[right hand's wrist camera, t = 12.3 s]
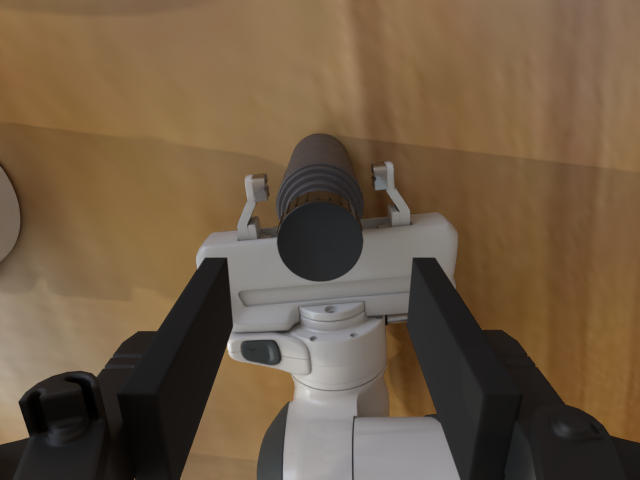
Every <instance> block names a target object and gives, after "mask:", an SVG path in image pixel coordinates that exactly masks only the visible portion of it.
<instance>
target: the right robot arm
mask: <svg viewBox="0 0 640 480" xmlns="http://www.w3.org/2000/svg"><path fill="white" fill-rule="evenodd" d="M232 329H233V317H232V306H231V294H230V283H229V271H228V260H227V257H205V258H204V260H203V261H202V263H201V264H200V266H199V267H198V269H197V270H196V272H195V274H194V275H193V277H192V278H191V280H190V281H189V283H188V284H187V286H186V288H185V289H184V291H183V292H182V294H181V295H180V297H179V298H178V300H177V301H176V303H175V305H174V306H173V308H172V309H171V311H170V312H169V314H168V315H167V317H166V318H165V320H164V322H163V323H162V325H161V326H160V328H159V329H158V331H138V332H137V333H135V334H134V335H133V336H131V337H130V338H128V339H127V340H125V341H124V342H123V343H122V344H121V345H120V347H119V348H118V349H117V351H116V352H115V353H114V355H113V358H111V359H110V360H109V361H108V363H107V364H106V365H105V369H102V371H101V372H100V373H99V375H98V376H97V377H95V376H94V375H93V374H92V373H88V372H84V371H74V372H65V373H62V374H58V375H55V376H52V377H50V378H48V379H46V380H43V381H41V382H39V383H37V384H36V385H35V386H33V387H32V388H31V389H29V390H28V391H27V392H26V393H25V394H24V395H23V397H22V398H21V399H20V401H19V405H20V408H21V411H22V415H23V418H24V421H25V424H26V427H27V430H28V433H29V436H30V437H29V438H26V439H23V440H19V441H14V442H10V443H6V444H2V445H0V480H134V478H135V480H180V477H181V474H182V472H183V469H184V466H185V463H186V460H187V457H188V454H189V452H190V449H191V446H192V443H193V440H194V437H195V434H196V432H197V429H198V426H199V423H200V420H201V417H202V415H203V412H204V409H205V406H206V403H207V400H208V397H209V395H210V392H211V389H212V386H213V383H214V380H215V377H216V375H217V372H218V369H219V366H220V363H221V360H222V357H223V355H224V352H225V349H226V346H227V343H228V340H229V337H230V335H231V332H232ZM407 329H408V332H409V335H410V338H411V340H412V343H413V346H414V349H415V352H416V355H417V357H418V360H419V363H420V366H421V369H422V372H423V375H424V377H425V380H426V383H427V386H428V389H429V392H430V395H431V397H432V400H433V403H434V406H435V409H436V412H437V415H438V417H439V420H440V423H441V426H442V429H443V432H444V434H445V437H446V440H447V443H448V446H449V449H450V452H451V454H452V457H453V460H454V463H455V466H456V469H457V472H458V474H459V477H460V480H505V476H506V478H507V480H640V443H637V442H633V441H629V440H625V439H620V438H617V437H614V436H610V435H609V433H608V432H607V430H606V429H605V427H604V426H603V425H602V424H601V423H600V422H599V421H597V420H596V419H595V418H594V417H593V416H591V415H589V414H587V413H586V412H584V411H582V410H580V409H578V408H575V407H572V406H568V405H565V403H564V402H563V401H562V399H561V398H560V397H559V395H558V394H557V393H556V391H555V390H554V389H553V387H552V386H551V385H550V383H549V382H548V381H547V380H546V378H545V377H544V376H543V374H542V373H541V372H540V370H539V369H538V368H537V367H535V364H534V362H533V361H532V360H531V358H530V357H528V356H527V353H526V352H525V350H524V349H523V348H522V346H521V345H520V344H519V342H518V341H517V340H515V339H514V338H512V337H511V336H509V335H508V334H507V333H505V332H504V331H502V330H482V329H481V328H480V326H479V325H478V323H477V322H476V320H475V318H474V317H473V315H472V314H471V312H470V311H469V309H468V308H467V306H466V305H465V303H464V301H463V300H462V298H461V297H460V295H459V294H458V292H457V291H456V289H455V288H454V286H453V284H452V283H451V281H450V280H449V278H448V277H447V275H446V274H445V272H444V270H443V269H442V267H441V266H440V264H439V263H438V261H437V260H436V258H435V257H413V260H412V271H411V283H410V294H409V306H408V317H407Z"/></svg>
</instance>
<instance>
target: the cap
mask: <svg viewBox="0 0 640 480" xmlns="http://www.w3.org/2000/svg"><path fill="white" fill-rule="evenodd" d="M362 231H363V229H362V225H361V222H360V220H359V218H358V214H357V211H356V210H354V208H353V207H352V205H351V204H350V202H348V201H347V200H346V199H344V198H343V197H342V196H341V195H338V194H335V193H333V192H331V191H319V190H318V191H311V192H306V193H305V194H302V195H300V196H299V197H298V196H297V197H296V199H294V200H293V201H292V202H291V203H290V204H288V206H287V208H286V210H285V212H283V213H282V216H281V219H280V223H279V226H278V230H277V249H278V253H279V256H280V258H281V260H282V262H283V263H284V264H285V266H286V267H287V268H288V269H289V270H290V271H291V272H292V273H294V274H295V275H297V276H299V277H301V278H303V279H306V280H309V281H315V282H325V281H331V280H334V279H337V278H339V277H341V276H343V275H345V274H346V273H348V272H349V271H350V270H351V269H352V268H353V267H354V266H355V265H356V263H357V261H358V260H359V258H360V256H361V253H362V249H363V242H364V240H363V234H362Z"/></svg>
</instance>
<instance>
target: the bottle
mask: <svg viewBox="0 0 640 480" xmlns="http://www.w3.org/2000/svg"><path fill="white" fill-rule="evenodd" d="M318 190H319V191H331V192H333V193H335V194H338V195H341V196H342V197H343V198H344V199H346V200H347V201H348V202H350V204H351V205H352V207H353V208H354V210H356V211H357V214H358V218H359V220H360V221H361V218H362V215H363V209H364V201H363V195H362V192H361V189H360V186H359V183H358V181H357V178H356V175H355V173H354V170H353V167H352V165H351V162H350V159H349V156H348V154H347V151H346V149H345V147H344V146H343V145H342V143H341V142H340V141H339V140H337V139H336V138H334V137H332V136H330V135H327V134H313V135H310V136H308V137H306V138H304V139H303V140H301V141H300V142H299V143H298V144H297V146H296V147H295V149H294V151H293V154H292V157H291V159H290V162H289V165H288V167H287V170H286V173H285V176H284V178H283V181H282V184H281V186H280V189H279V192H278V195H277V201H276V209H277V215H278V218H279V221H280V219H281V216H282V213H283V212H285V210H286V208H287V206H288V204H290V203H291V202H292V201H293V200H294V199H296V197H297V196H298V197H299V196H300V195H302V194H305V193H306V192H311V191H318Z"/></svg>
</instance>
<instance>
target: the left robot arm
mask: <svg viewBox="0 0 640 480" xmlns="http://www.w3.org/2000/svg"><path fill="white" fill-rule="evenodd" d="M371 171H372V173H373V175H372V185H373V187H374V190H386V191H387V193H388V194H389V196H390V197H391V199H392V200H393V202H394V203H395V205H394V204H389V205H388V217H377V218H366V219H361V221H360V222H361V225H362V229H363V231H362V234H363V240H364V242H363V249H362V253H361V256H360V258H359V260H358V261H357V263H356V265H355V266H354V267H353V268H352V269H351V270H350V271H349V272H348V273H346V274H345V275H343V276H341V277H339V278H337V279H334V280H331V281H325V282H315V281H309V280H306V279H303V278H301V277H299V276H297V275H295V274H294V273H292V272H291V271H290V270H289V269H288V268H287V267H286V266H285V264H284V263H283V262H282V260H281V258H280V256H279V253H278V249H277V230H278V227H268V228H261V227H260V221H259V217H258V216H256V217H251V216H252V214H253V211H254V209H255V207H256V204H257V202H258V201H267V200H268V197H269V195H270V192H269V186H268V185H267V184H266V183H267V181H268V178H267V174H266V173H265V174H251V175H247V176H246V178H245V187H246V193H247V199H248V201H247V203H246V205H245V208H244V210H243V212H242V215H241V217H240V220H239V222H238V225H237V229H238V230H235V231H224V232H214V233H212V234H210V235H209V236H208V237H207V239H206V240H205V241H204V242H203V244H202V245H201V247H200V249H199V250H198V253H197V256H196V264H197V269H198V267H199V266H200V264H201V263H202V261H203V260H204V258H205V257H227V260H228V271H229V283H230V294H231V306H232V317H233V329H232V332H231V335H230V337H229V340H228V343H227V348H228V353H229V355H230V357H231V358H233V359H234V360H237V361H241V362H246V363H252V364H257V365H262V366H267V367H271V368H276V369H279V370H283V371H286V372H290V374H291V376H292V378H293V380H294V384H295V392H294V400H293V401H292V402H290V401H289V402H288V403H287V404H286V405H285V406H284V407H283V408H282V409H281V411H280V412H279V413H278V415H277V416H276V418H275V419H274V421H273V422H272V423H271V425H270V426H269V428H268V430H267V432H266V434H265V436H264V438H263V441H262V444H261V448H260V453H259V458H258V465H257V480H460V477H459V474H458V472H457V469H456V466H455V463H454V460H453V457H452V454H451V452H450V449H449V446H448V443H447V440H446V437H445V434H444V432H443V429H442V426H441V423H440V420H439V417H438V415H437V414H430V415H425V416H424V417H389V394H388V389H387V386H386V383H385V381H384V377H383V376H384V373H385V369H386V365H387V346H386V327H385V326H386V325H388V324H400V323H407V317H408V306H409V294H410V283H411V271H412V260H413V257H435V258H436V260H437V261H438V263H439V264H440V266H441V267H442V269H443V270H444V272H445V274H446V275H447V277H448V278H449V280H450V281H451V283H452V284H453V286H454V288H455V289H456V281H455V278H454V277H453V276H454V271H455V265H456V258H457V250H458V233H457V231H456V229H455V227H454V226H453V225H452V223H451V222H450V221H449V220H448V219H446V218H445V217H444V216H443V215H442V214H440V213H438V212H431V213H421V214H410V209H409V208H408V206H407V204H406V203H405V201H404V200H403V198H402V197H401V195H400V194H399V192H398V191H397V189H396V188H395V186H394V167H393V163H392V162H391V161H387V162H378V163H371ZM19 230H20V209H19V204H18V200H17V197H16V194H15V191H14V189H13V186H12V184H11V182H10V180H9V179H8V177H7V175H6V174H5V172H4V171H3V169H2V168H1V166H0V262H1V261H2V260H3V259H4V258H5V257H6V256H7V255H8V254H9V253H10V251H11V250H12V248H13V247H14V245H15V243H16V241H17V238H18V235H19ZM505 480H507V478H506V476H505Z"/></svg>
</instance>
